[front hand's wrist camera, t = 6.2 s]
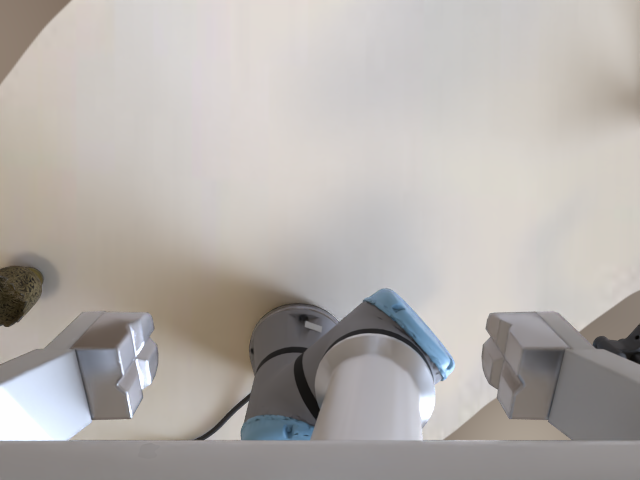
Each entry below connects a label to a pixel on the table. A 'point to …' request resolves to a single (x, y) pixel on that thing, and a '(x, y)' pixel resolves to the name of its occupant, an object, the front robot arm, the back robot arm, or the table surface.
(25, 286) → the olive tapered piece
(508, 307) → the table surface
